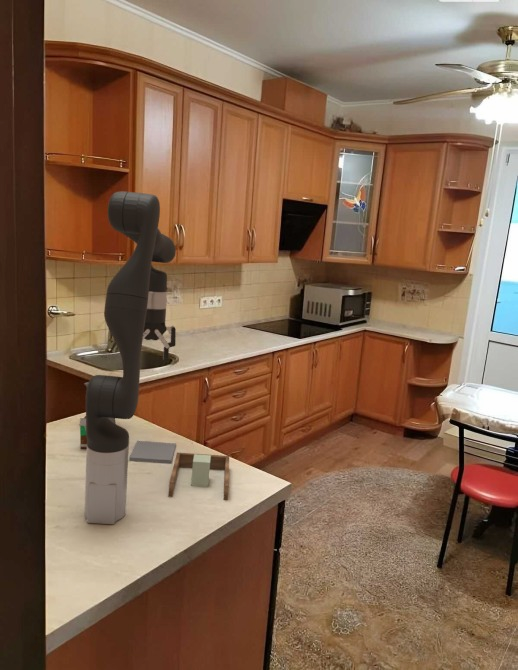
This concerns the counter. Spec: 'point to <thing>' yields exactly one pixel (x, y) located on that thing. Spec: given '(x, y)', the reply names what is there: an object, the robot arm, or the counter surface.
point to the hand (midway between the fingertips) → (150, 359)
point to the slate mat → (153, 452)
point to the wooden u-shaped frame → (187, 462)
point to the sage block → (200, 470)
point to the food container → (83, 433)
